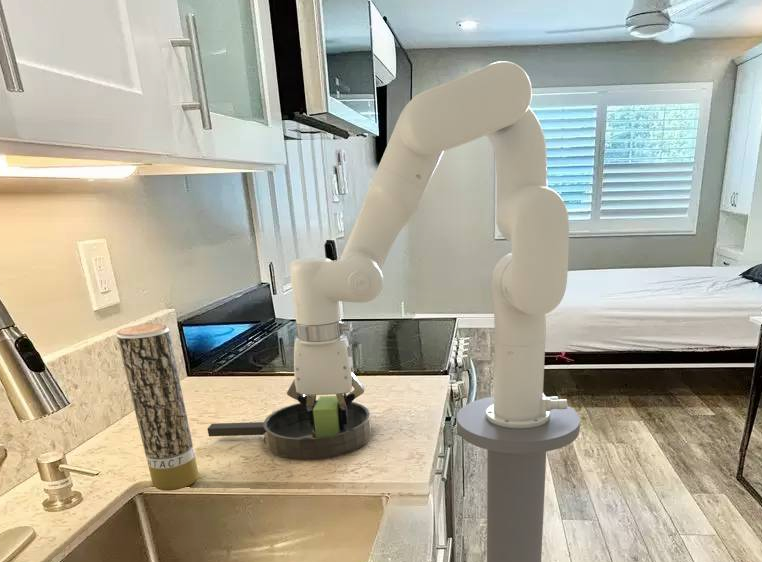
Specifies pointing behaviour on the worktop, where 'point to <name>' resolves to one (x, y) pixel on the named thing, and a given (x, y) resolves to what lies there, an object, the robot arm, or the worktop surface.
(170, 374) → the paper tube
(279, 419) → the pan
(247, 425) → the pan handle
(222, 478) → the worktop surface
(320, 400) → the sponge
